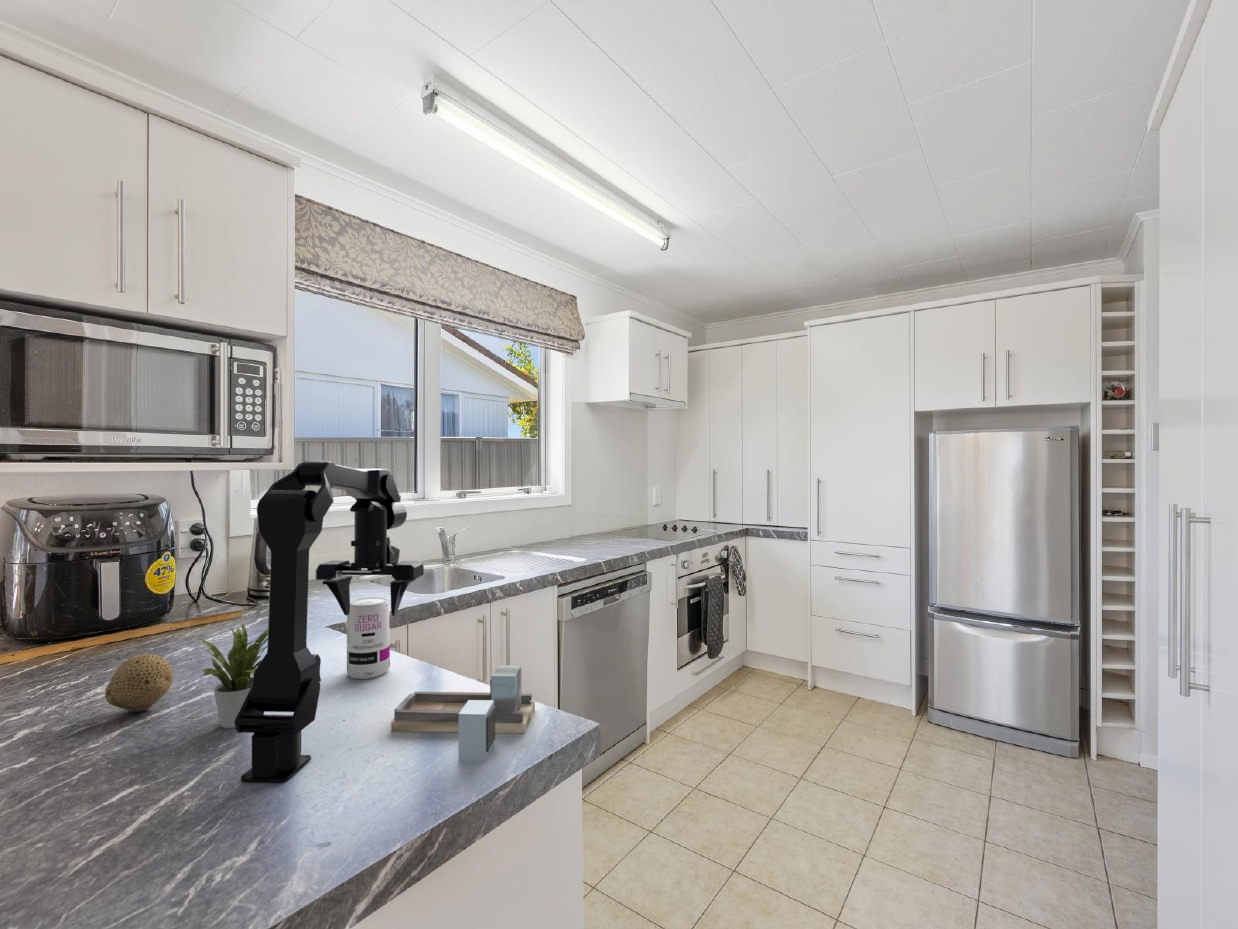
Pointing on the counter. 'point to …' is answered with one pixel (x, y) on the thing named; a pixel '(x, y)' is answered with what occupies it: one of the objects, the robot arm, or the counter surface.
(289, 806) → the counter surface
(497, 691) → the rail plate
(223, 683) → the house plant
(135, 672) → the natural sponge
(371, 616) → the supplement can
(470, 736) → the block
